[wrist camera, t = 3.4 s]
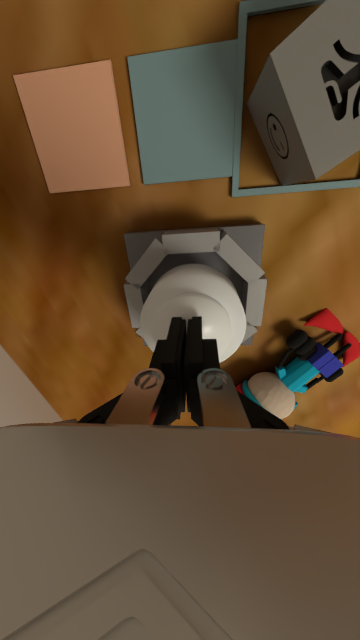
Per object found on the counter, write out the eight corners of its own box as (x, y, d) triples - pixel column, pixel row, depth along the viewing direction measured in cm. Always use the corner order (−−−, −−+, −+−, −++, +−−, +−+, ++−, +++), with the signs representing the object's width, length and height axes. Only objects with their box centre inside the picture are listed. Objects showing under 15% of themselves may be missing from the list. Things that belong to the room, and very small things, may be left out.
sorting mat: (425, -28, 10) (430, -34, 10) (363, 186, 14) (365, 186, 14) (6, 47, 12) (2, 44, 12) (57, 211, 16) (55, 211, 16)
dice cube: (246, 104, 13) (269, 53, 8) (336, 24, 11) (427, -96, 6) (281, 186, 14) (316, 179, 10) (363, 127, 13) (449, 88, 8)
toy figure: (308, 295, 19) (197, 396, 23) (352, 317, 15) (206, 437, 19) (348, 340, 22) (242, 424, 26) (396, 370, 18) (259, 466, 21)
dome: (241, 261, 13) (253, 278, 10) (236, 344, 17) (244, 376, 13) (143, 265, 14) (127, 283, 11) (155, 344, 17) (145, 375, 14)
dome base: (261, 223, 15) (273, 227, 13) (249, 338, 20) (256, 359, 18) (127, 232, 16) (113, 238, 14) (146, 339, 21) (138, 359, 19)
